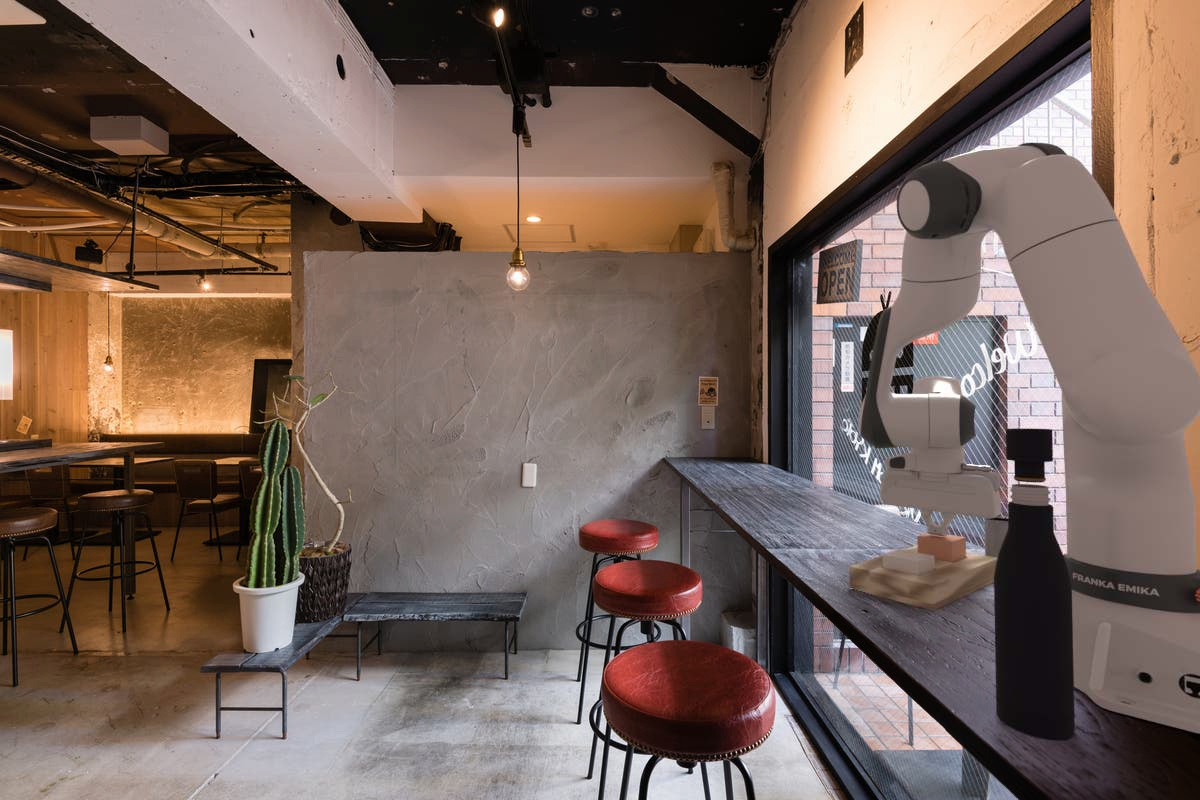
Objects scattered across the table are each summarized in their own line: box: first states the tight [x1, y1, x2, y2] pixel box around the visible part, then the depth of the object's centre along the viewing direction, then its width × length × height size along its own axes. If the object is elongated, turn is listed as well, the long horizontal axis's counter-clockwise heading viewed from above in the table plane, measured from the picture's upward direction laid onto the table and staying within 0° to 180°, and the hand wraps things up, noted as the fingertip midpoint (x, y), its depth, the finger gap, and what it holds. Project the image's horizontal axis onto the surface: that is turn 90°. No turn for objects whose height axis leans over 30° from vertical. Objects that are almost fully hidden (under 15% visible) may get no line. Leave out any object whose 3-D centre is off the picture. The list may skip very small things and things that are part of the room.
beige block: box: [882, 548, 935, 576], centre depth 101 cm, size 6×6×4 cm
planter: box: [983, 516, 1008, 558], centre depth 112 cm, size 4×4×10 cm
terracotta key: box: [917, 533, 967, 563], centre depth 109 cm, size 6×6×4 cm
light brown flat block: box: [848, 544, 997, 611], centre depth 105 cm, size 14×27×4 cm, turn 127°
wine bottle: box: [993, 427, 1076, 741], centre depth 59 cm, size 6×6×30 cm
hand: (937, 534), depth 109 cm, fingers closed
